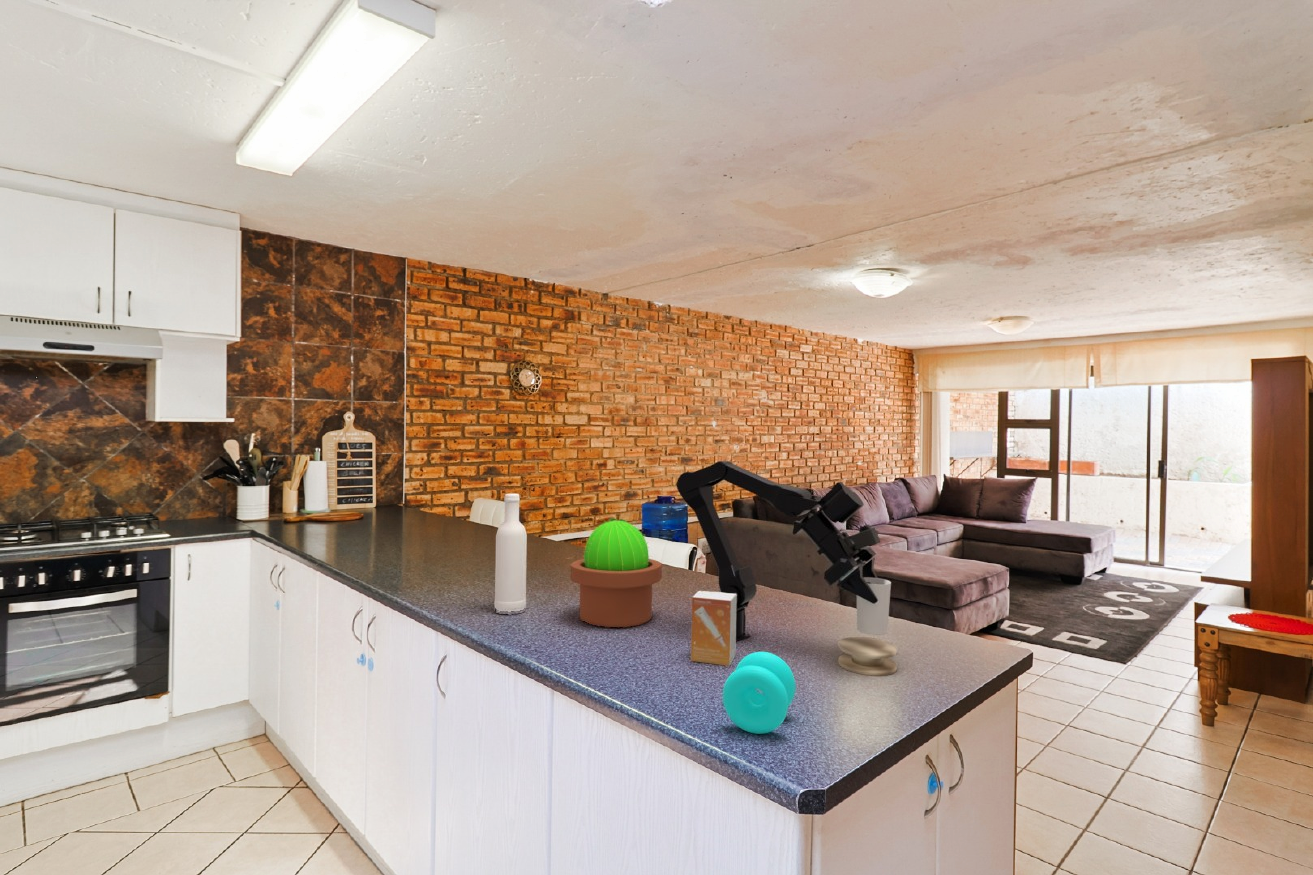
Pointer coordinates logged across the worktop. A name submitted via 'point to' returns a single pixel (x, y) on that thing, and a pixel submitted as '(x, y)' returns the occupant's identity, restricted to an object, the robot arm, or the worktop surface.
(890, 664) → the birch stand
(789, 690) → the turquoise yoyo
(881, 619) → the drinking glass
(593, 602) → the potted cactus
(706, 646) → the small box
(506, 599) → the bottle
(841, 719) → the worktop surface
